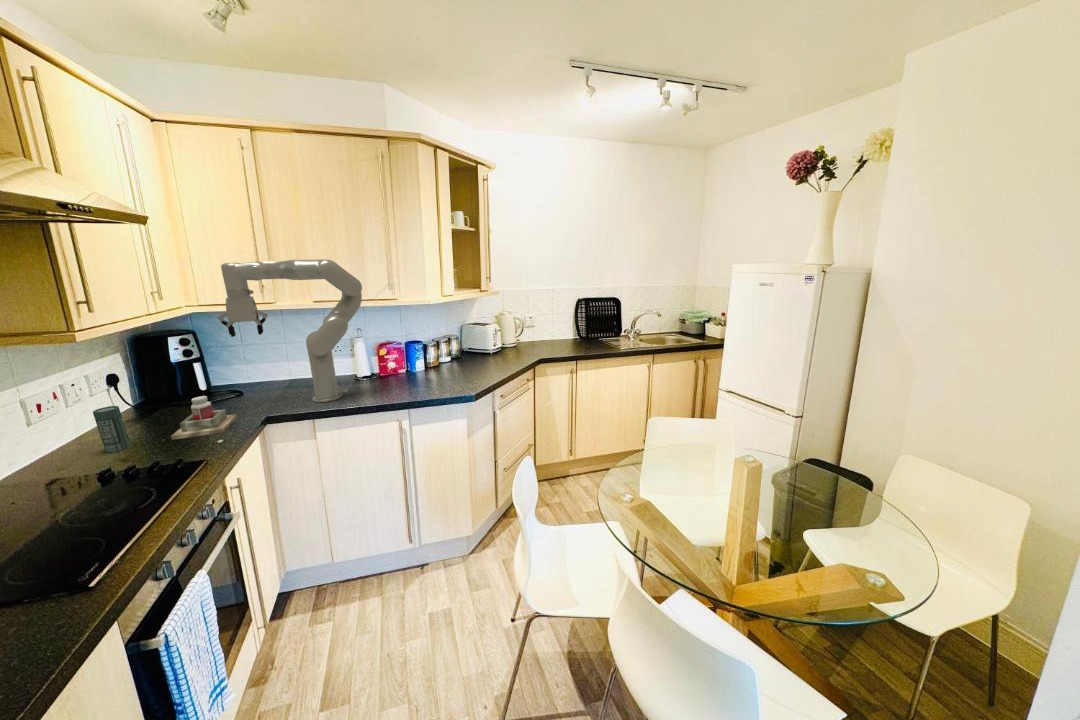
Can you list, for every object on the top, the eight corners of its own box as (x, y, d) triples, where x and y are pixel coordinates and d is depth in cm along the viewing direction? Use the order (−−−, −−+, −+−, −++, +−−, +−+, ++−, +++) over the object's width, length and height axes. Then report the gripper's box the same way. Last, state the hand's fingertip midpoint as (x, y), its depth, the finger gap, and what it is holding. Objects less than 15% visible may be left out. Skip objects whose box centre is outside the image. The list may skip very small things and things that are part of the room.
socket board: (237, 417, 171) (234, 406, 169) (223, 432, 156) (220, 420, 155) (190, 423, 166) (187, 412, 164) (171, 439, 151) (168, 427, 150)
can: (133, 443, 149) (122, 404, 145) (124, 450, 143) (112, 410, 140) (112, 446, 147) (99, 407, 143) (102, 453, 141) (88, 413, 138)
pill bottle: (218, 420, 164) (211, 394, 162) (212, 426, 159) (205, 399, 156) (199, 422, 162) (192, 396, 159) (193, 428, 157) (185, 401, 154)
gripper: (265, 292, 172) (273, 331, 177) (216, 294, 167) (225, 335, 171) (260, 293, 165) (268, 334, 170) (209, 296, 160) (219, 338, 164)
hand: (247, 335), depth 170 cm, fingers open, 9 cm apart
